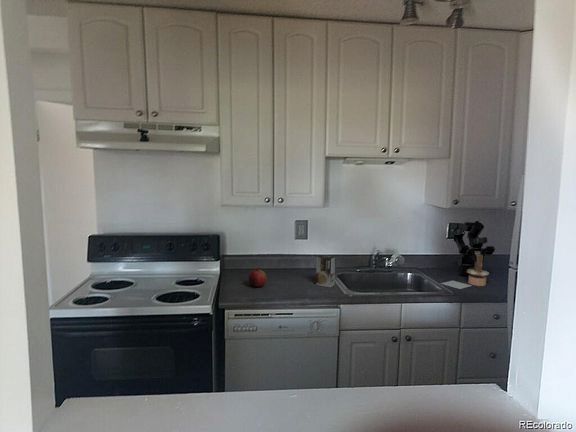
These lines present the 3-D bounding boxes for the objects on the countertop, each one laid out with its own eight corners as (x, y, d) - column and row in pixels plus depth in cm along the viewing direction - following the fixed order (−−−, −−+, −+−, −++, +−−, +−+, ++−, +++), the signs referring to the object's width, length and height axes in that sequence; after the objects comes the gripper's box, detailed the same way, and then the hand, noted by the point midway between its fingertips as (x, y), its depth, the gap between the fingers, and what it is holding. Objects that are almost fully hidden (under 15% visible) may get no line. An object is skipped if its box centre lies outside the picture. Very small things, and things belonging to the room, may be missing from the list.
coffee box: (335, 284, 215) (336, 256, 213) (330, 287, 210) (331, 258, 208) (320, 282, 220) (321, 254, 218) (315, 285, 214) (316, 256, 212)
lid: (470, 275, 218) (472, 256, 216) (463, 269, 229) (465, 252, 228) (492, 276, 216) (493, 257, 215) (484, 270, 228) (485, 252, 227)
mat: (440, 284, 222) (440, 283, 222) (452, 281, 229) (452, 280, 228) (460, 289, 212) (460, 288, 212) (471, 286, 219) (472, 285, 219)
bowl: (465, 283, 225) (465, 275, 224) (473, 281, 230) (474, 273, 229) (480, 287, 217) (480, 279, 217) (488, 284, 222) (489, 277, 222)
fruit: (249, 283, 215) (249, 265, 214) (267, 283, 214) (267, 266, 213) (246, 289, 204) (246, 270, 203) (265, 289, 204) (265, 271, 202)
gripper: (461, 231, 225) (466, 253, 215) (495, 232, 223) (501, 255, 213) (456, 242, 234) (461, 264, 224) (488, 243, 232) (494, 265, 222)
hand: (479, 262), depth 221 cm, fingers closed on lid, 3 cm apart
